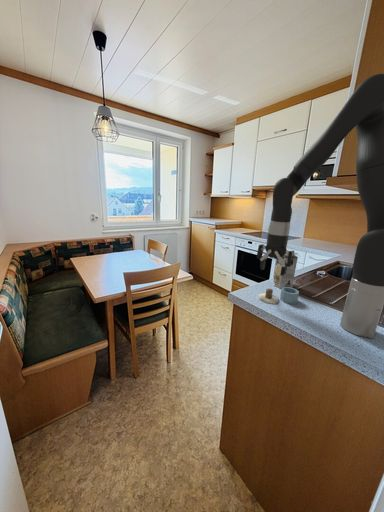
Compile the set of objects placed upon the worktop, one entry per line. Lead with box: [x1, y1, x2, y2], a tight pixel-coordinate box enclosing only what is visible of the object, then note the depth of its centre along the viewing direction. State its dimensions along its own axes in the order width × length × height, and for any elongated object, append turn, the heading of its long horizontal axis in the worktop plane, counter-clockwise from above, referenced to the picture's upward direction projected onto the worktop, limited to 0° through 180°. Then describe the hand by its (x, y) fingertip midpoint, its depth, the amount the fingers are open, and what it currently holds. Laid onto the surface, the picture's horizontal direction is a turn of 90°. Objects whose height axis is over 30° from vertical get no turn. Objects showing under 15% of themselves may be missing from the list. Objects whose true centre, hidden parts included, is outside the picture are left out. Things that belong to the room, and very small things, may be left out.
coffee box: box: [273, 253, 299, 289], centre depth 103 cm, size 9×6×16 cm
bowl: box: [279, 287, 300, 305], centre depth 89 cm, size 7×7×4 cm
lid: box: [258, 288, 280, 305], centre depth 89 cm, size 8×8×4 cm
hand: (271, 272), depth 87 cm, fingers open, 8 cm apart
